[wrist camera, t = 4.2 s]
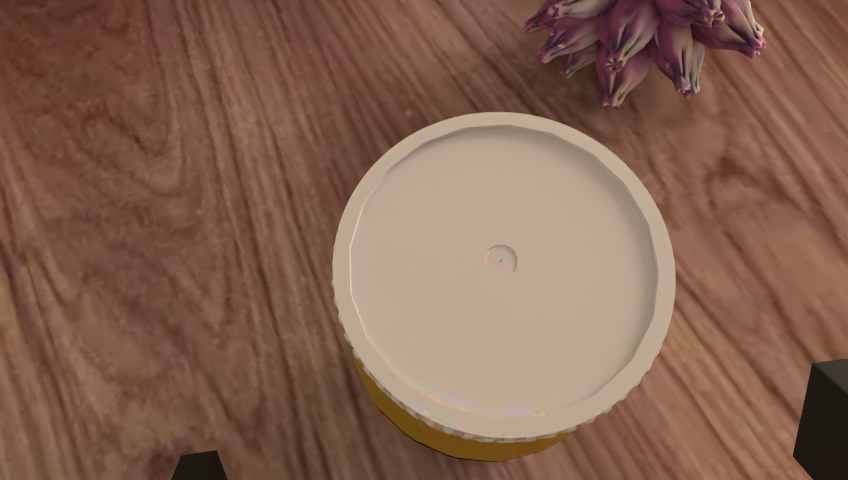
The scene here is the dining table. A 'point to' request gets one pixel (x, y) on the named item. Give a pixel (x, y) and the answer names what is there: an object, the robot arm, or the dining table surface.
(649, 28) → the flower
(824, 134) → the dining table surface
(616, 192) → the bottle
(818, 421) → the robot arm
